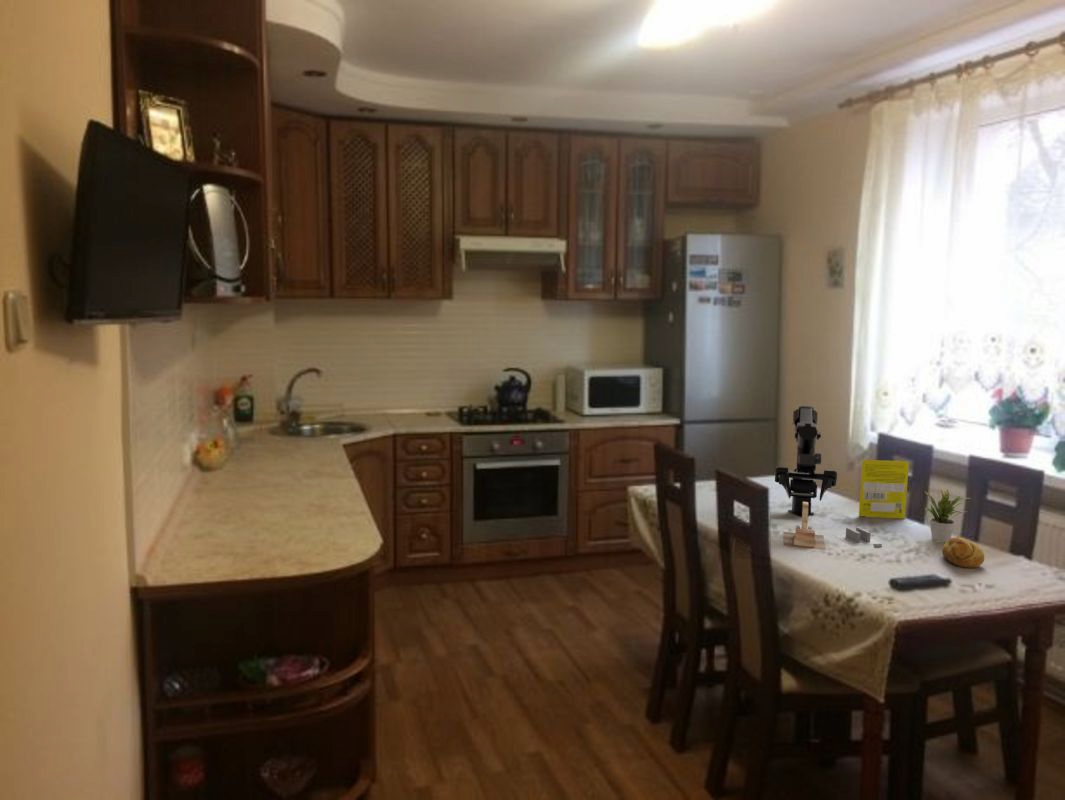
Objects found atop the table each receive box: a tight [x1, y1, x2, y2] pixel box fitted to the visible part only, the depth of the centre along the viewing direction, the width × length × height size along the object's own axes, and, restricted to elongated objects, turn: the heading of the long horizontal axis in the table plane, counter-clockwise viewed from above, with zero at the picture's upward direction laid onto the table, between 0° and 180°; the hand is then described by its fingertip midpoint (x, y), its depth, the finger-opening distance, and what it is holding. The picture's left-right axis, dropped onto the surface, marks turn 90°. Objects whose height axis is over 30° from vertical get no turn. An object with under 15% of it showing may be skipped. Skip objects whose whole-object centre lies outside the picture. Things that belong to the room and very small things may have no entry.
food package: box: [858, 459, 910, 519], centre depth 285 cm, size 15×1×20 cm, turn 84°
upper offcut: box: [794, 528, 816, 540], centre depth 251 cm, size 4×5×2 cm, turn 74°
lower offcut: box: [794, 534, 816, 547], centre depth 252 cm, size 4×6×2 cm, turn 74°
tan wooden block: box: [800, 502, 809, 529], centre depth 257 cm, size 4×2×11 cm, turn 164°
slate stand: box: [834, 526, 883, 548], centre depth 257 cm, size 10×10×4 cm
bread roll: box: [941, 536, 985, 568], centre depth 239 cm, size 13×10×8 cm
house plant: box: [923, 488, 973, 543], centre depth 259 cm, size 14×14×16 cm
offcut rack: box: [782, 525, 827, 551], centre depth 256 cm, size 15×12×4 cm
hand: (805, 498), depth 262 cm, fingers open, 9 cm apart
